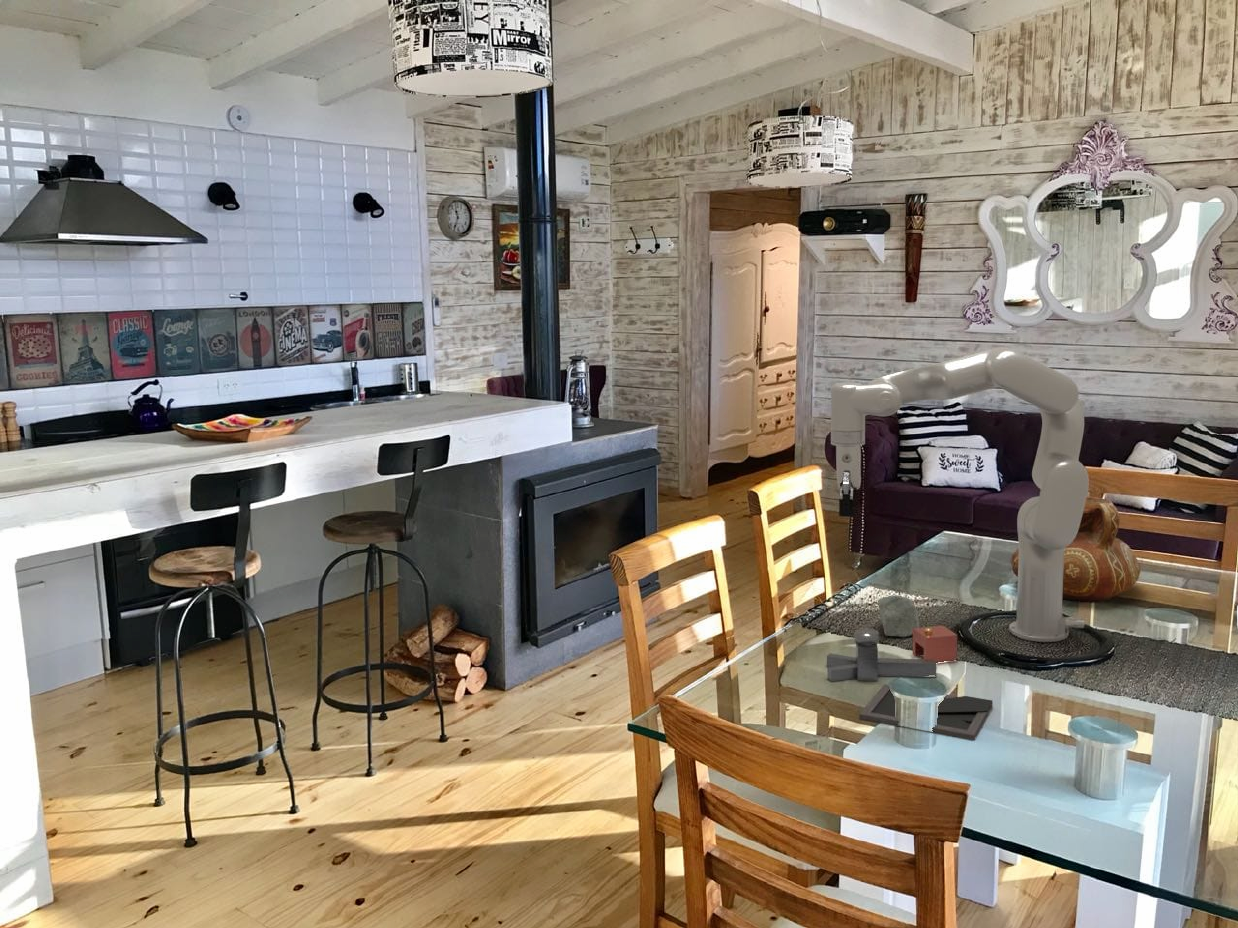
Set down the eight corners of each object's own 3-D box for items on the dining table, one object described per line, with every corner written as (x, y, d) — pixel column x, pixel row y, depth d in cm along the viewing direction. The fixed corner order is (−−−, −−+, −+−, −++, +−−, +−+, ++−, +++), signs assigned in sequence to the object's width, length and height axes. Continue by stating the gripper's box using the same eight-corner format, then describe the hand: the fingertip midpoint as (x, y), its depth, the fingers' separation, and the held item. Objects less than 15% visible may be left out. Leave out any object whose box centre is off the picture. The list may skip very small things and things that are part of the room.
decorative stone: (910, 644, 234) (929, 605, 236) (865, 622, 238) (884, 584, 240) (909, 653, 246) (927, 616, 248) (866, 632, 250) (885, 595, 252)
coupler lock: (942, 651, 230) (942, 621, 228) (956, 661, 223) (957, 631, 222) (912, 654, 228) (913, 624, 227) (926, 664, 222) (926, 634, 221)
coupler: (932, 666, 221) (933, 625, 220) (938, 684, 212) (939, 642, 210) (826, 663, 225) (826, 623, 223) (827, 681, 215) (827, 640, 214)
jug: (989, 592, 269) (992, 497, 264) (1045, 567, 288) (1048, 478, 284) (1106, 617, 247) (1111, 515, 242) (1158, 589, 266) (1164, 493, 261)
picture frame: (992, 710, 200) (884, 691, 211) (992, 700, 200) (884, 682, 211) (973, 743, 187) (859, 721, 197) (974, 733, 186) (859, 711, 197)
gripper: (863, 444, 226) (863, 520, 229) (866, 431, 242) (865, 503, 245) (828, 443, 228) (828, 519, 231) (833, 431, 244) (833, 502, 247)
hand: (847, 511), depth 238 cm, fingers open, 9 cm apart
